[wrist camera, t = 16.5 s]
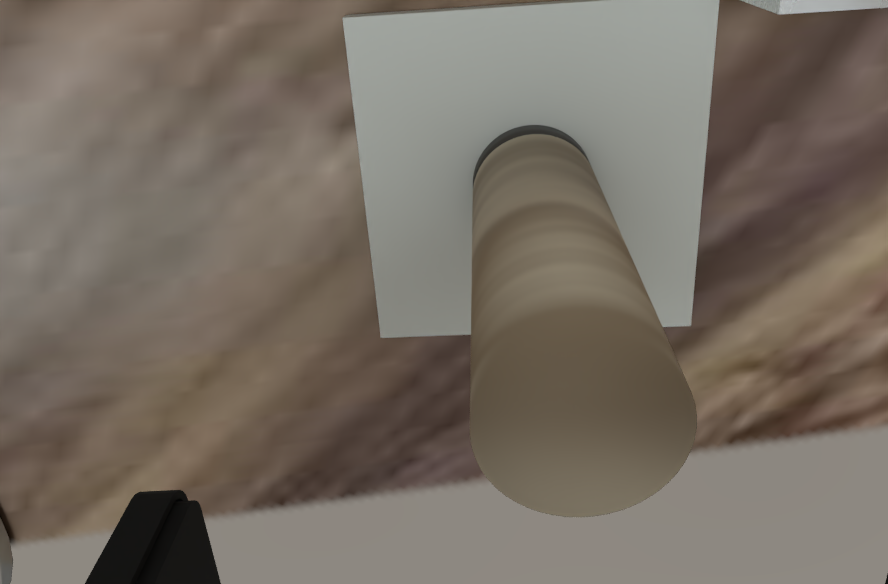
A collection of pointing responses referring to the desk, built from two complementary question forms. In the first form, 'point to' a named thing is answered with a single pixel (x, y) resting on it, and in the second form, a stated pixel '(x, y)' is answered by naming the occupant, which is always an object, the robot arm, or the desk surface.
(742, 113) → the desk surface
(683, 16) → the mat
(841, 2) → the breaker box
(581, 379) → the beige cylinder
